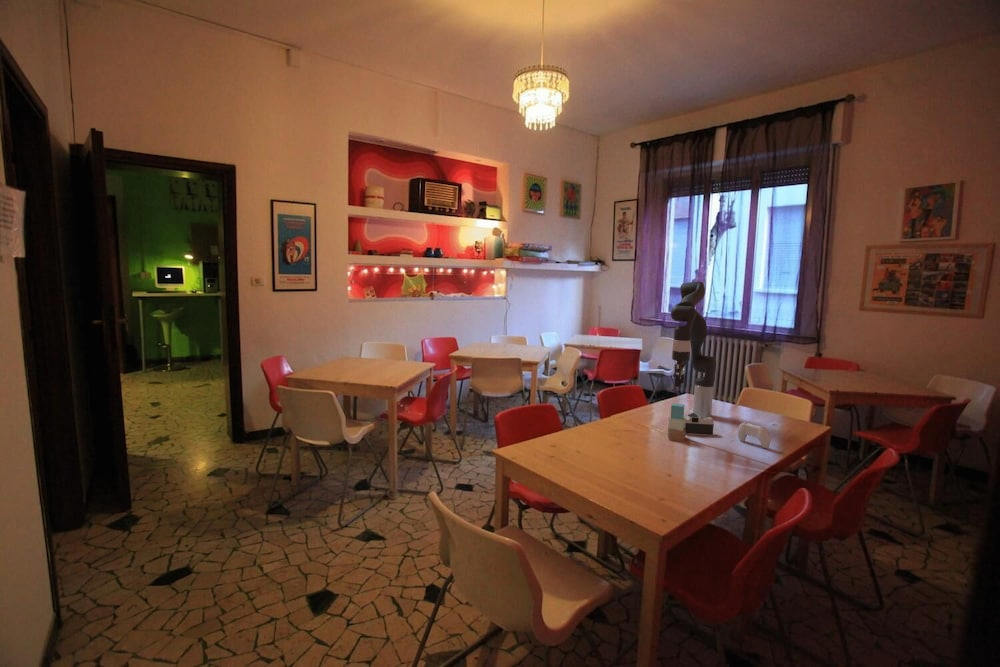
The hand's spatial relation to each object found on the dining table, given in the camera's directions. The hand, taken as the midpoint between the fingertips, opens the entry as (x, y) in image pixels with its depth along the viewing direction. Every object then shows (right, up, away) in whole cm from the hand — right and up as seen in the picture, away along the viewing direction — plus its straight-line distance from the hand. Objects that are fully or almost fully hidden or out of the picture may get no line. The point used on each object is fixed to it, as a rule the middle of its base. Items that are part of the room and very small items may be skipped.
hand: (679, 384), depth 216 cm
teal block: (0, -15, +2) cm, 15 cm away
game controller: (+31, -27, -5) cm, 41 cm away
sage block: (0, -20, +2) cm, 20 cm away
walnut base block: (0, -25, +3) cm, 25 cm away
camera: (+12, -25, +12) cm, 30 cm away
